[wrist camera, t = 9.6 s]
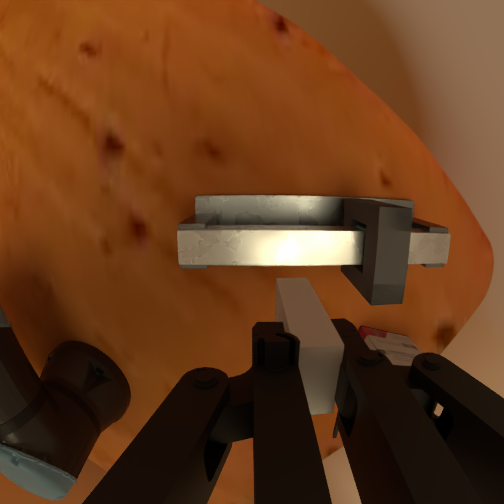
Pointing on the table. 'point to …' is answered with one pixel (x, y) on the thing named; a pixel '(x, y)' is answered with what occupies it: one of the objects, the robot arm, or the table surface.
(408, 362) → the ink box
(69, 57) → the table surface
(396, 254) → the ring collar
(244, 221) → the pipe rail
